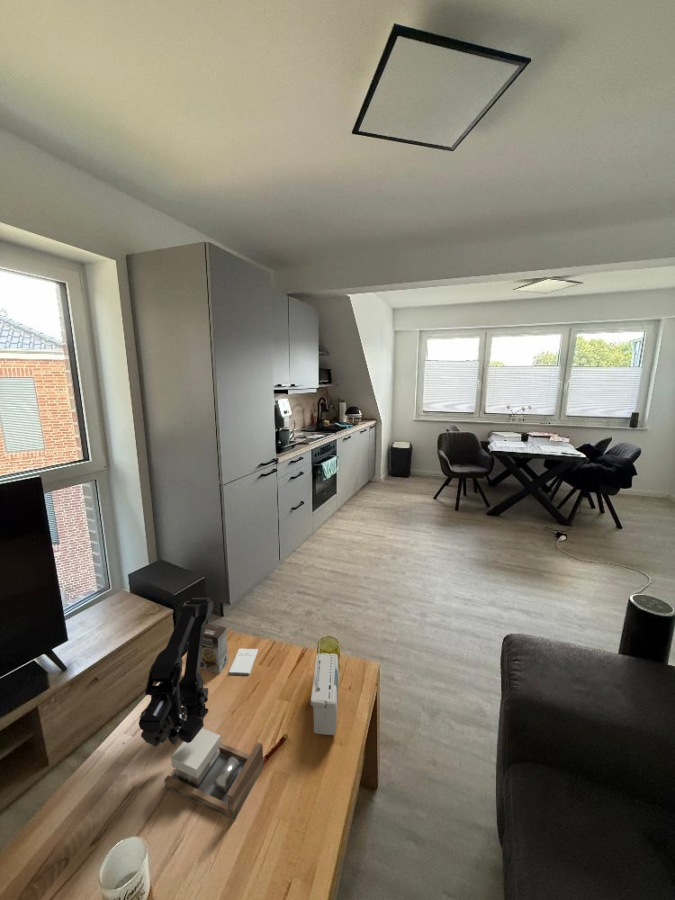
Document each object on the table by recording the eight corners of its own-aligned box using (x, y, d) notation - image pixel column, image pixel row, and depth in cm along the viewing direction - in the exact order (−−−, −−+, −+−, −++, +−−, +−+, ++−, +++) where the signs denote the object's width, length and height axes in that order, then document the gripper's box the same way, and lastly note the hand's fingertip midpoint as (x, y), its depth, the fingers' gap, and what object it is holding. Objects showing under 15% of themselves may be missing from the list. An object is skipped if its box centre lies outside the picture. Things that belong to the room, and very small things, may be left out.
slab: (171, 766, 100) (170, 757, 99) (197, 733, 109) (196, 725, 108) (197, 778, 97) (196, 769, 96) (221, 743, 106) (220, 735, 105)
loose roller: (213, 789, 98) (213, 777, 97) (228, 765, 104) (228, 754, 103) (225, 795, 97) (225, 784, 96) (240, 771, 103) (240, 760, 102)
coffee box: (199, 669, 140) (196, 633, 136) (209, 657, 146) (206, 622, 142) (219, 674, 137) (216, 637, 134) (229, 662, 143) (226, 626, 140)
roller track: (165, 786, 99) (162, 763, 98) (200, 740, 112) (198, 718, 111) (234, 821, 91) (232, 796, 90) (263, 766, 104) (262, 744, 103)
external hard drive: (228, 675, 137) (239, 651, 150) (249, 676, 137) (258, 652, 149) (228, 672, 137) (238, 648, 149) (249, 672, 137) (258, 648, 149)
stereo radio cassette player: (336, 738, 112) (336, 684, 109) (310, 737, 113) (309, 683, 109) (338, 683, 133) (338, 636, 129) (316, 682, 133) (316, 635, 129)
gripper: (120, 712, 98) (127, 758, 101) (172, 735, 92) (178, 784, 95) (153, 681, 109) (158, 723, 112) (202, 700, 102) (207, 744, 105)
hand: (174, 743), depth 106 cm, fingers closed
